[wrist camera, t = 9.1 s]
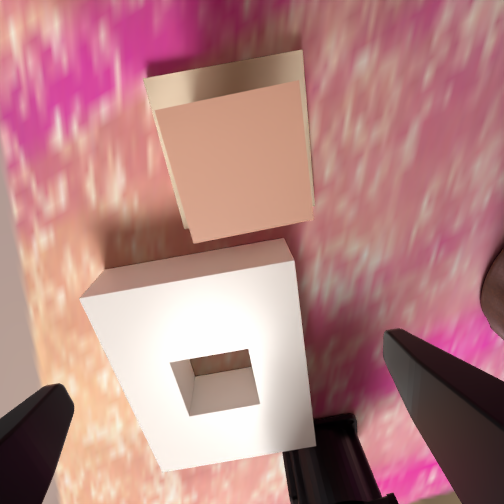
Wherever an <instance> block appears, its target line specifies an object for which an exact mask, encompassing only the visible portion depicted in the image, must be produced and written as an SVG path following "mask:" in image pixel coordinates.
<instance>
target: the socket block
mask: <svg viewBox="0 0 504 504" xmlns="http://www.w3.org/2000/svg"><path fill="white" fill-rule="evenodd" d="M79 299H80V302H81V304H82V306H83V308H84V310H85V312H86V314H87V316H88V318H89V320H90V322H91V324H92V327H93V329H94V331H95V333H96V335H97V337H98V339H99V341H100V343H101V345H102V347H103V349H104V352H105V354H106V356H107V358H108V360H109V362H110V364H111V366H112V368H113V370H114V372H115V374H116V377H117V379H118V381H119V383H120V385H121V387H122V389H123V391H124V393H125V395H126V397H127V400H128V402H129V404H130V406H131V408H132V410H133V412H134V414H135V416H136V418H137V420H138V422H139V425H140V427H141V429H142V431H143V433H144V435H145V437H146V439H147V441H148V443H149V445H150V447H151V450H152V452H153V454H154V456H155V458H156V460H157V462H158V464H159V466H160V468H161V470H162V472H168V471H174V470H179V469H185V468H191V467H197V466H203V465H209V464H214V463H220V462H226V461H232V460H238V459H244V458H249V457H255V456H261V455H267V454H273V453H279V452H284V451H290V450H296V449H302V448H308V447H314V446H316V440H315V431H314V423H313V414H312V406H311V397H310V389H309V380H308V372H307V363H306V355H305V346H304V338H303V329H302V321H301V312H300V304H299V295H298V287H297V278H296V270H295V261H294V258H293V256H292V254H291V252H290V250H289V248H288V245H287V243H286V241H285V239H284V238H280V239H274V240H268V241H263V242H257V243H252V244H246V245H240V246H235V247H229V248H223V249H218V250H212V251H207V252H201V253H195V254H190V255H184V256H178V257H173V258H167V259H161V260H156V261H150V262H145V263H139V264H133V265H128V266H122V267H116V268H111V269H105V270H104V271H103V272H102V273H101V274H100V275H99V276H98V278H97V279H96V280H95V281H94V282H93V283H92V284H91V285H90V287H89V288H88V289H87V290H86V291H85V292H84V293H83V295H82V296H81V297H80V298H79ZM244 349H248V350H249V355H250V359H251V364H252V367H248V368H242V369H237V370H231V371H225V372H219V373H214V374H208V375H202V376H196V377H195V375H194V372H193V369H192V366H191V363H190V360H189V359H192V358H198V357H204V356H209V355H215V354H221V353H227V352H232V351H238V350H244Z"/></svg>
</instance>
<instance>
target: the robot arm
mask: <svg viewBox="0 0 504 504" xmlns="http://www.w3.org/2000/svg"><path fill="white" fill-rule="evenodd" d="M383 357H384V360H385V363H386V365H387V367H388V370H389V372H390V374H391V376H392V378H393V380H394V382H395V385H396V387H397V389H398V391H399V393H400V395H401V397H402V400H403V402H404V404H405V406H406V408H407V410H408V412H409V414H410V416H411V418H412V420H413V422H414V423H415V425H416V427H417V429H418V430H419V432H420V434H421V435H422V437H423V439H424V440H425V442H426V444H427V445H428V447H429V449H430V450H431V452H432V454H433V456H434V457H435V459H436V461H437V462H438V464H439V466H440V467H441V469H442V471H443V472H444V474H445V476H446V477H447V479H448V481H449V482H450V484H451V486H452V488H453V489H454V491H455V493H456V494H457V496H458V498H459V499H460V501H461V503H462V504H504V381H502V380H500V379H498V378H496V377H494V376H492V375H490V374H488V373H486V372H484V371H482V370H480V369H478V368H476V367H475V366H473V365H471V364H469V363H467V362H465V361H463V360H461V359H459V358H457V357H455V356H453V355H451V354H449V353H447V352H445V351H443V350H442V349H440V348H438V347H436V346H434V345H432V344H430V343H428V342H426V341H424V340H422V339H420V338H418V337H416V336H414V335H412V334H410V333H408V332H407V331H405V330H403V329H400V328H397V329H390V330H386V331H385V332H384V337H383ZM73 414H74V403H73V401H72V399H71V398H70V396H69V394H68V392H67V390H66V389H65V387H64V385H62V384H59V383H58V384H52V385H47V386H44V387H42V388H41V389H40V390H38V391H37V392H36V393H34V394H33V395H31V396H30V397H29V398H27V399H26V400H25V401H23V402H22V403H21V404H19V405H18V406H17V407H15V408H14V409H13V410H11V411H10V412H8V413H7V414H6V415H5V416H3V417H2V418H1V419H0V504H42V502H43V500H44V497H45V495H46V493H47V490H48V488H49V485H50V483H51V480H52V478H53V475H54V473H55V470H56V467H57V464H58V461H59V458H60V455H61V451H62V448H63V445H64V442H65V439H66V436H67V433H68V430H69V426H70V423H71V420H72V417H73ZM313 423H314V431H315V440H316V446H314V447H308V448H302V449H296V450H290V451H284V452H283V459H284V465H285V472H286V478H287V485H288V491H289V497H290V502H291V504H398V501H397V499H396V497H395V495H394V493H389V494H386V495H387V496H385V497H382V495H381V493H380V490H379V488H378V485H377V483H376V480H375V478H374V476H373V473H372V471H371V468H370V466H369V463H368V461H367V458H366V456H365V453H364V451H363V448H362V446H361V443H360V441H359V438H358V436H357V420H356V418H355V416H354V415H353V414H348V415H342V416H336V417H330V418H324V419H319V420H313Z"/></svg>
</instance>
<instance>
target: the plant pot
mask: <svg viewBox="0 0 504 504" xmlns="http://www.w3.org/2000/svg"><path fill="white" fill-rule="evenodd" d="M481 307H482V311H483V313H484V315H485V316H486V318H487V320H488V322H489V324H490V327H491V329H492V330H493V331H494V332H496V333H497V334H498V335H499V336H500V337H501V338H502V339H503V340H504V248H503V250H502V251H501V252H500V254H499V255H498V257H497V258H496V259H495V261H494V263H493V264H492V266H491V268H490V270H489V272H488V274H487V277H486V279H485V282H484V285H483V289H482V294H481Z"/></svg>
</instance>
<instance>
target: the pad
mask: <svg viewBox="0 0 504 504" xmlns="http://www.w3.org/2000/svg"><path fill="white" fill-rule="evenodd" d="M297 80H299V84H300V93H301V103H302V112H303V121H304V131H305V140H306V150H307V159H308V168H309V178H310V187H311V197H312V206H315V201H314V189H313V176H312V164H311V151H310V138H309V126H308V113H307V101H306V88H305V75H304V63H303V50H296V51H291V52H285V53H280V54H274V55H269V56H264V57H258V58H253V59H247V60H242V61H236V62H231V63H225V64H220V65H214V66H209V67H203V68H198V69H192V70H187V71H182V72H176V73H171V74H165V75H160V76H154V77H149V78H143V81H144V84H145V88H146V92H147V95H148V99H149V103H150V106H151V110H152V113H153V117H154V121H155V124H156V128H157V132H158V135H159V139H160V143H161V146H162V150H163V153H164V157H165V161H166V164H167V168H168V172H169V175H170V179H171V183H172V186H173V190H174V193H175V197H176V201H177V204H178V208H179V212H180V215H181V219H182V223H183V226H184V229H189V226H188V223H187V220H186V216H185V213H184V209H183V206H182V203H181V199H180V196H179V192H178V189H177V185H176V182H175V179H174V175H173V172H172V168H171V165H170V162H169V158H168V155H167V151H166V148H165V144H164V141H163V138H162V134H161V131H160V127H159V124H158V121H157V117H156V114H155V110H158V109H163V108H168V107H173V106H178V105H182V104H187V103H192V102H197V101H201V100H206V99H211V98H216V97H221V96H225V95H230V94H235V93H240V92H245V91H249V90H254V89H259V88H264V87H269V86H273V85H278V84H283V83H288V82H293V81H297Z"/></svg>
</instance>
